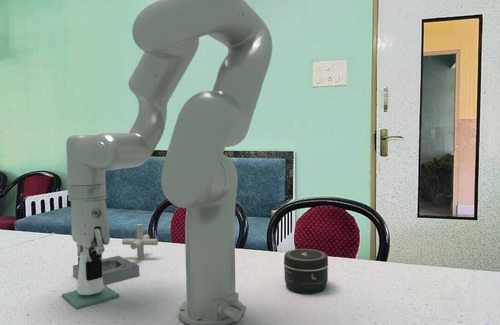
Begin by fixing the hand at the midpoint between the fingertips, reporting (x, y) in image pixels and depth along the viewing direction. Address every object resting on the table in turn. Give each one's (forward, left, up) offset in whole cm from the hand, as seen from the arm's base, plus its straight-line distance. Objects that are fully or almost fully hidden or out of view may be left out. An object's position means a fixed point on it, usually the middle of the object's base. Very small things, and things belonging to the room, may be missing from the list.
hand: (90, 275), depth 84 cm
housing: (+11, -8, -5) cm, 14 cm away
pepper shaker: (0, 0, -3) cm, 3 cm away
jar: (-29, -38, -5) cm, 48 cm away
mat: (0, 0, -5) cm, 5 cm away
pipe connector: (+18, -21, -5) cm, 28 cm away
